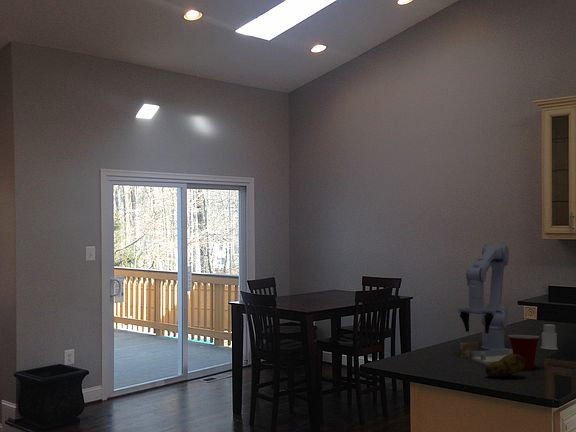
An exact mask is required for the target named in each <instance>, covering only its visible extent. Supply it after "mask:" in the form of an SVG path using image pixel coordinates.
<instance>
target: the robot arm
mask: <svg viewBox="0 0 576 432" xmlns="http://www.w3.org/2000/svg"><path fill="white" fill-rule="evenodd" d="M481 255H482V256H481V257H479V258H477V259H476V261H475V262H474V264H473V265H472V266H471V267H470V266H469V267H468V268H467V269H466V272H465V279H466V283H467V286H468V307H458V308H457V313H458V314H459V317H460V318H461V321H462V323H463V325H464V329H465V332H466V333H469V332H470V314H476V315H481V317H480V320H481V321H480V322H481V325H482V326H483V327H484V329H483V330H482V335H481V337H482V346H480V348H481V349H485V350H501V349H508V348H507V347H505V328H507V327H508V325H509V317H508V316H509V315H508V313H509V312H508V310H507V308H505V307H504V306H503V304H502V301H503V299H502V298H503V297H502V296H503V282H504V272H505V271H504V270H505V267H507V266H508V265H509V260H510V259H509V257H510V250H509V247H508V245H507V244H483V245H482V248H481ZM490 267H491V277H490V288H489V289H490V291H489V302H488V304H487V305H486V306H485V293H484V292H485V290H484V289H485V288H484V287H485V285H484V282H485V281H486V280H487V279H486V278H487V272H489V269H490Z"/></svg>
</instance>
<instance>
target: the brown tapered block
mask: <svg viewBox="0 0 576 432" xmlns="http://www.w3.org/2000/svg"><path fill="white" fill-rule="evenodd" d="M472 351H479V341H474V340H468V341H465V342H462V343H460V358H464V359H472Z"/></svg>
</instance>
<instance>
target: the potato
mask: <svg viewBox="0 0 576 432" xmlns="http://www.w3.org/2000/svg"><path fill="white" fill-rule="evenodd" d="M525 364H526V361H525V359H524V358H523V357H522V356H521V355H518V354H510V355H507V356H505V357H503V358H502V359H501V360H499V361H496V362H493V363H491V364H488V365H486V366H485V374H486V375H487V376H488V377H490V378H506V377H510V376H512V375H515V374H518V373H521V372H524V371H525V370H524V367H525Z"/></svg>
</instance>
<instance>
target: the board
mask: <svg viewBox="0 0 576 432" xmlns="http://www.w3.org/2000/svg"><path fill="white" fill-rule="evenodd" d="M510 354H513V351H512V348H507V349H501V350H487V349H485V350H478V351H472V358H471V360H473V361H475V362H478V363H481V364H483V365H485V366H488V365H489V364H491V363H493V362H496V361H499V360H501V359H502V358H503V357H505V356H507V355H510Z"/></svg>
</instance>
